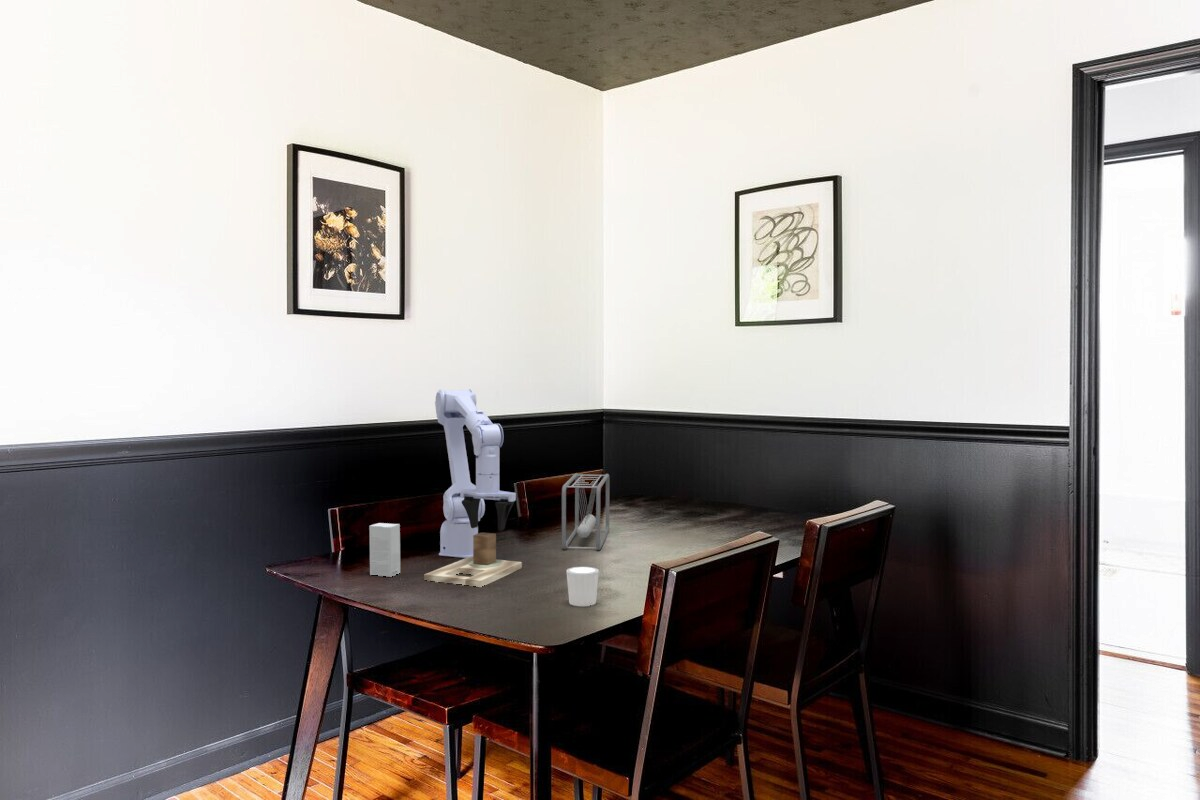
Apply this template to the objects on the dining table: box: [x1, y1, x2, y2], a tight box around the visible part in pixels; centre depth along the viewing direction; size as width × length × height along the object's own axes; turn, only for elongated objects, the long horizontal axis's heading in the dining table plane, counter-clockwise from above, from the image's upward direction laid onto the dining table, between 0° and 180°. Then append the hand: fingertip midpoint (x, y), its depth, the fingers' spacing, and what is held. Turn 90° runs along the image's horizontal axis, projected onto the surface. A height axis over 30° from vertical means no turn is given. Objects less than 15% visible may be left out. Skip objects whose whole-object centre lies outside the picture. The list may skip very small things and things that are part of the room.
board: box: [423, 557, 523, 588], centre depth 203 cm, size 15×20×2 cm
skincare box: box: [368, 522, 401, 578], centre depth 203 cm, size 6×4×12 cm
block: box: [473, 532, 497, 565], centre depth 208 cm, size 4×4×7 cm
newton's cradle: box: [561, 472, 610, 551], centre depth 244 cm, size 30×10×18 cm, turn 175°
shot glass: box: [566, 566, 600, 607], centre depth 179 cm, size 7×7×7 cm
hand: (487, 528), depth 209 cm, fingers open, 7 cm apart
